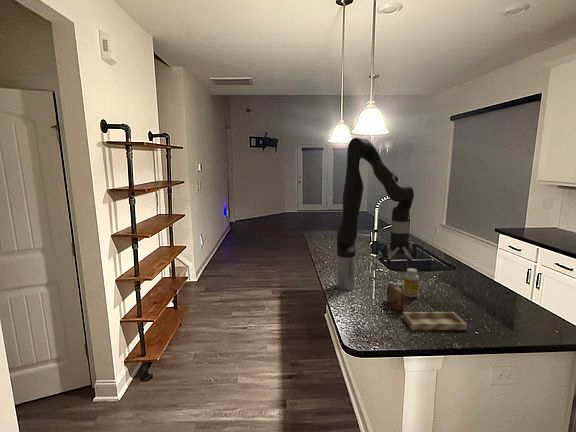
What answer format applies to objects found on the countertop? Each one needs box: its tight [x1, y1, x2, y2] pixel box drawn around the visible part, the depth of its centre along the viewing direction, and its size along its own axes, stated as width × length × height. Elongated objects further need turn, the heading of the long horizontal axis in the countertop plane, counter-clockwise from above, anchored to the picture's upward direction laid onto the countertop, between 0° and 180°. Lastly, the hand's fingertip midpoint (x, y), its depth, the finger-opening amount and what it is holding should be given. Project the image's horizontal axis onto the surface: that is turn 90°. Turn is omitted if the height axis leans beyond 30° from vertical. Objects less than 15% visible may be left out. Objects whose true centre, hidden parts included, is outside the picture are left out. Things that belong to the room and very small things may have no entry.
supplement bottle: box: [402, 267, 420, 298], centre depth 157 cm, size 7×7×13 cm
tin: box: [386, 285, 407, 311], centre depth 145 cm, size 15×3×8 cm, turn 5°
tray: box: [402, 311, 468, 331], centre depth 130 cm, size 21×10×2 cm, turn 89°
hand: (398, 266), depth 143 cm, fingers open, 8 cm apart
